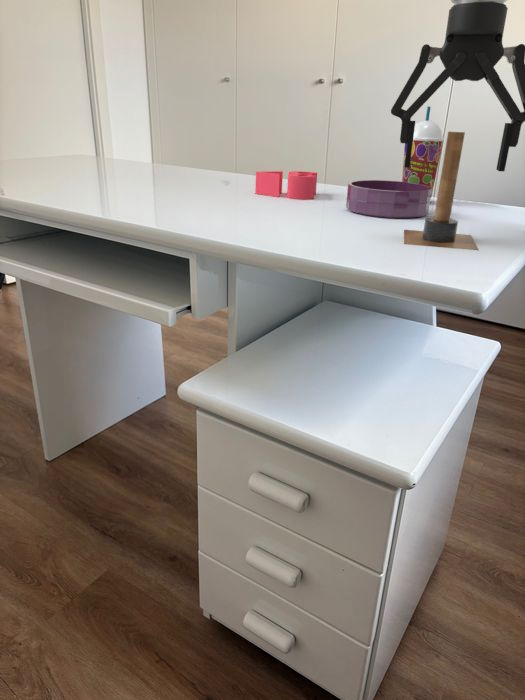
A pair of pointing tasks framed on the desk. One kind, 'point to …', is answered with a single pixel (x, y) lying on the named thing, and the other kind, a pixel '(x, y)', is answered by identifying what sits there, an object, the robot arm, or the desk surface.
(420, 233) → the cork mat
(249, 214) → the desk surface
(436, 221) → the brush
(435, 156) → the smoothie
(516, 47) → the robot arm
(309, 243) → the desk surface
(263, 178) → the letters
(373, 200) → the bowl
